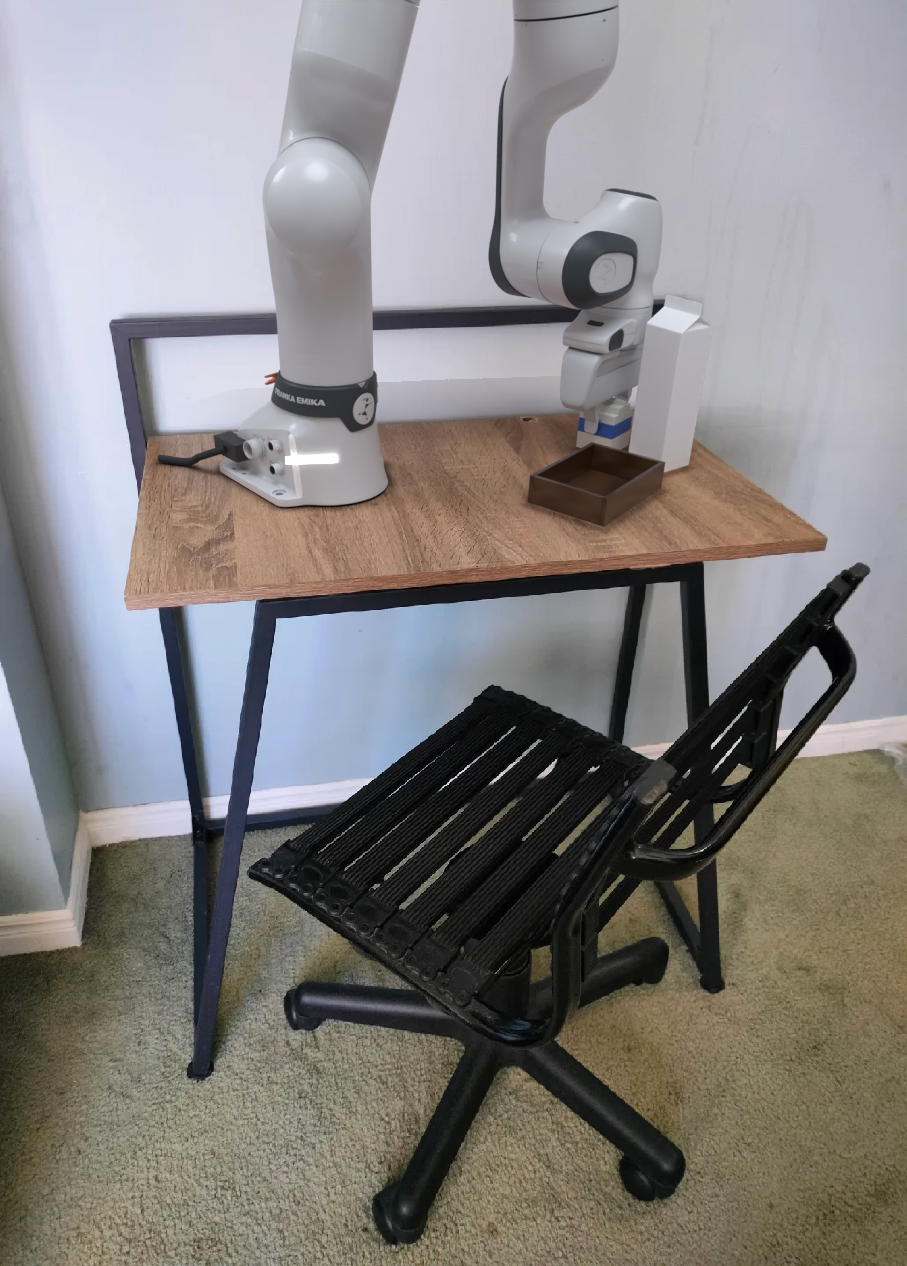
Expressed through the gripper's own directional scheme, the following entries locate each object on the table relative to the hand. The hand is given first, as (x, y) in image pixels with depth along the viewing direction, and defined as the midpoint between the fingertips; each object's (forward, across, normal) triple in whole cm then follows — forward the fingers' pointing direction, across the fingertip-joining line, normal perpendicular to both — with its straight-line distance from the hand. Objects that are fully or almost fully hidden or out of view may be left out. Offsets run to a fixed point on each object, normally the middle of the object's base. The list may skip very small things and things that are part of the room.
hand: (604, 425), depth 129 cm
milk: (+4, 0, +9) cm, 10 cm away
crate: (+4, +15, +8) cm, 18 cm away
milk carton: (+3, 0, 0) cm, 3 cm away
